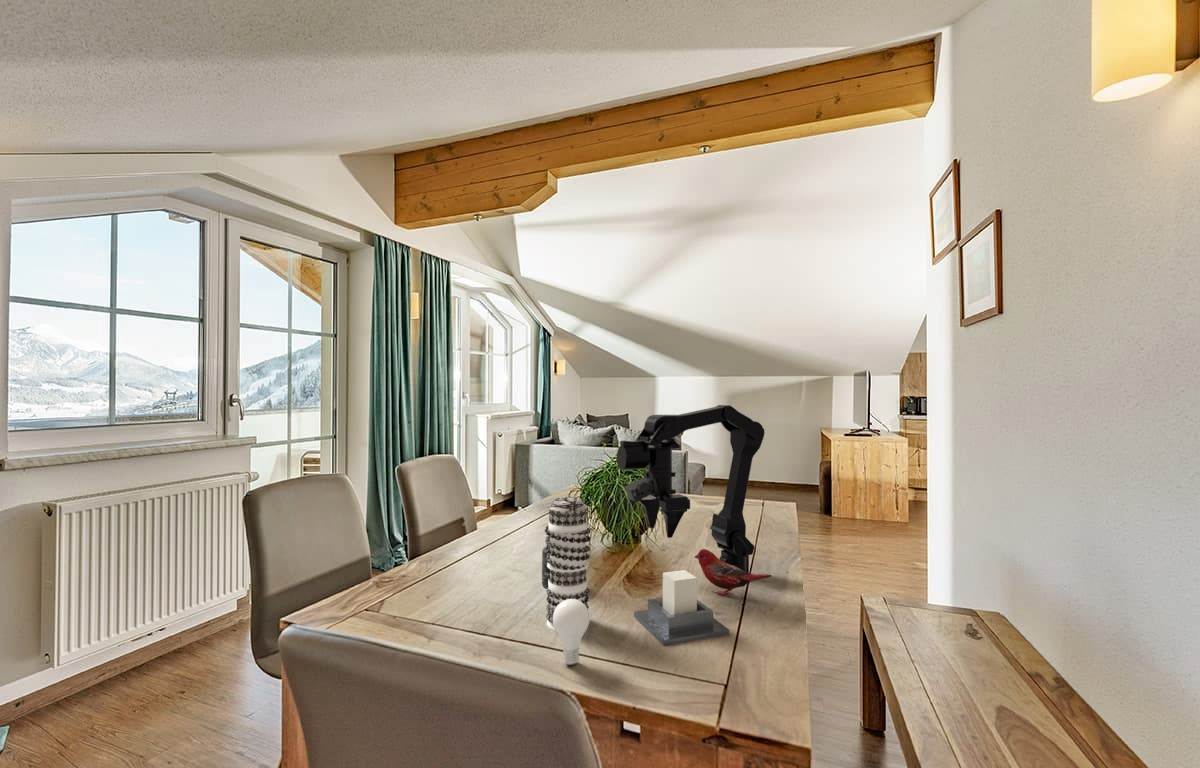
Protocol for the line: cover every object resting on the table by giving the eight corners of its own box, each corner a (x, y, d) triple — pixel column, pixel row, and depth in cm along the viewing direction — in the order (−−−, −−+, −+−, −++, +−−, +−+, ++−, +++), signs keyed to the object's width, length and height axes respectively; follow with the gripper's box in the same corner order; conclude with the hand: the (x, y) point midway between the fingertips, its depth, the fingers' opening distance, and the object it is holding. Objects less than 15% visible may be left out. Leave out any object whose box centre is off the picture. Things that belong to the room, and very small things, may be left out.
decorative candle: (573, 637, 106) (574, 506, 106) (535, 626, 111) (535, 500, 111) (599, 620, 114) (599, 498, 114) (562, 611, 119) (562, 493, 119)
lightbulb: (552, 655, 99) (552, 593, 99) (588, 654, 99) (588, 592, 100) (552, 674, 93) (552, 607, 93) (590, 672, 93) (590, 606, 93)
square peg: (684, 613, 115) (684, 570, 115) (696, 623, 110) (696, 577, 110) (662, 617, 113) (662, 572, 113) (674, 627, 109) (674, 580, 109)
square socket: (693, 607, 121) (693, 589, 121) (729, 634, 108) (729, 614, 108) (633, 616, 116) (633, 597, 116) (663, 645, 103) (663, 624, 103)
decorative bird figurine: (695, 588, 133) (695, 546, 133) (773, 601, 125) (773, 556, 125) (692, 592, 130) (692, 549, 130) (770, 605, 122) (770, 560, 122)
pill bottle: (563, 590, 131) (563, 542, 131) (538, 588, 132) (538, 540, 132) (569, 582, 137) (569, 535, 137) (546, 580, 138) (546, 534, 138)
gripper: (613, 464, 140) (614, 526, 140) (646, 475, 122) (647, 546, 122) (653, 461, 144) (654, 522, 144) (691, 472, 126) (691, 541, 126)
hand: (660, 532), depth 134 cm, fingers open, 9 cm apart
